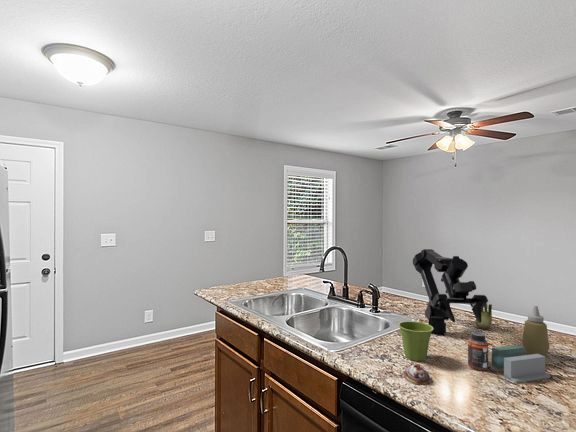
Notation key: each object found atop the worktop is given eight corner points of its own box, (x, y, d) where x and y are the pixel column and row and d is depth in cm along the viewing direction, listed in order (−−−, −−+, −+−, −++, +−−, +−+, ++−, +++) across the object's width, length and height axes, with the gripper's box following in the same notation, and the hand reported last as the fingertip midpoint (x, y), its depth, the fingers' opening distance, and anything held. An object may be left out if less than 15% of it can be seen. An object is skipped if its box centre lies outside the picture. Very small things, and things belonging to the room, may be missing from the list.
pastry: (416, 387, 96) (416, 370, 96) (398, 375, 103) (398, 360, 103) (436, 382, 99) (436, 366, 99) (417, 371, 106) (417, 356, 106)
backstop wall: (503, 376, 102) (504, 357, 102) (537, 372, 106) (537, 353, 106) (515, 383, 99) (515, 363, 99) (550, 377, 102) (550, 358, 102)
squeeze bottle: (516, 350, 123) (516, 303, 123) (536, 350, 124) (536, 303, 124) (534, 359, 115) (534, 309, 115) (555, 359, 116) (555, 309, 116)
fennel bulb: (492, 329, 147) (493, 303, 147) (487, 331, 144) (487, 304, 144) (479, 326, 151) (479, 300, 151) (474, 328, 149) (474, 302, 149)
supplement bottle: (491, 372, 105) (491, 337, 105) (471, 370, 107) (471, 336, 107) (484, 364, 111) (484, 331, 111) (465, 362, 112) (465, 329, 113)
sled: (471, 357, 117) (471, 338, 117) (495, 354, 120) (495, 335, 120) (498, 371, 106) (498, 350, 106) (524, 367, 109) (524, 347, 109)
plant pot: (431, 353, 120) (431, 322, 120) (434, 367, 109) (435, 333, 109) (397, 348, 124) (398, 319, 124) (397, 361, 113) (398, 329, 113)
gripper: (435, 272, 122) (448, 310, 111) (485, 273, 121) (503, 311, 110) (426, 288, 130) (438, 325, 119) (474, 289, 129) (490, 326, 118)
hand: (467, 322), depth 116 cm, fingers open, 9 cm apart
